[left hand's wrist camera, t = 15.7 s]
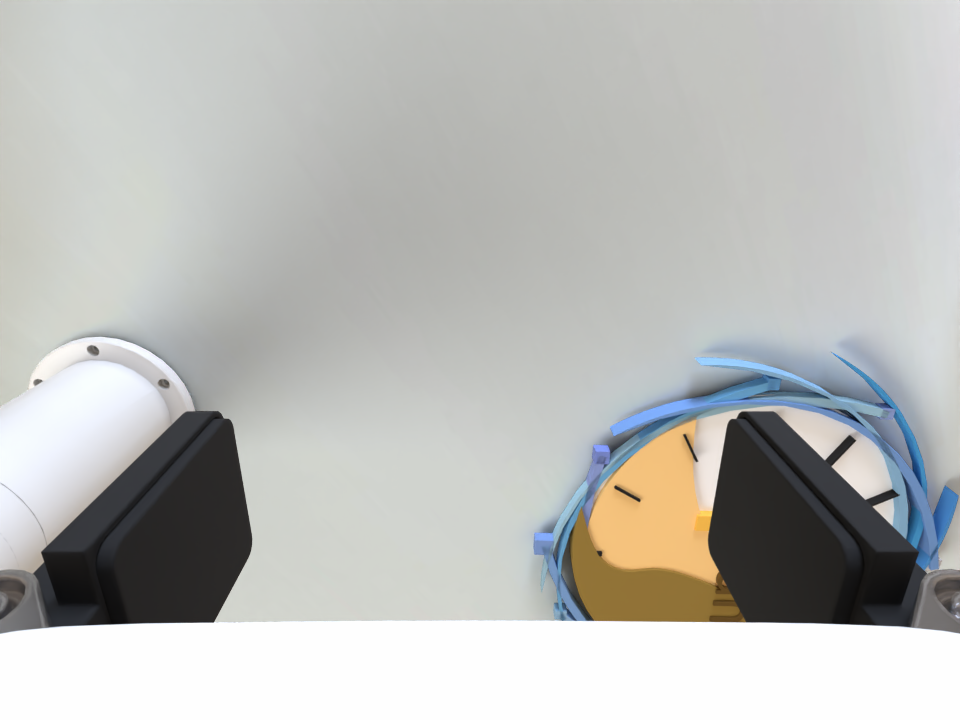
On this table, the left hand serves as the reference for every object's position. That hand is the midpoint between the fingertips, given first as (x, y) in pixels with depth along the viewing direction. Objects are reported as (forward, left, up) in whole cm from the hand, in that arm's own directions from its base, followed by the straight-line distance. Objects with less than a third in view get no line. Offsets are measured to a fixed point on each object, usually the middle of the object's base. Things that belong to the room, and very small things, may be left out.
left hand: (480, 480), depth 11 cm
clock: (+6, -34, -33) cm, 48 cm away
